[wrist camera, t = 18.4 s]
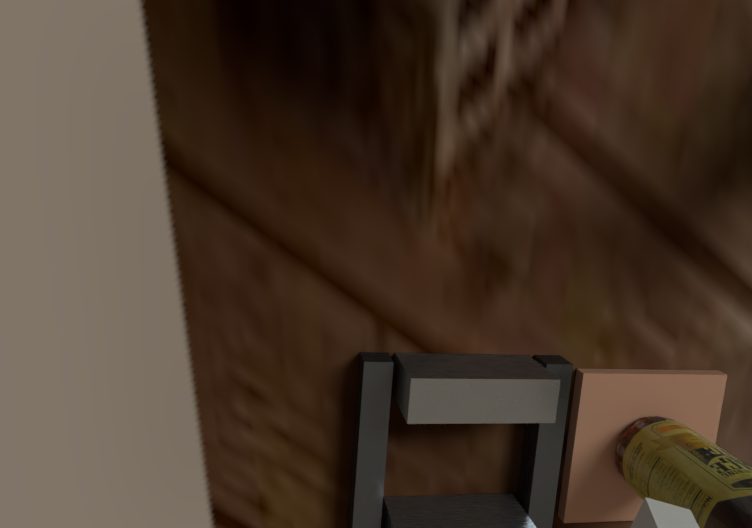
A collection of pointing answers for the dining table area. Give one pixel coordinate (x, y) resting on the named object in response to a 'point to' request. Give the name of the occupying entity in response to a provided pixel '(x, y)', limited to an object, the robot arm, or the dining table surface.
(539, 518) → the dark grey square frame
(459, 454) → the dining table surface
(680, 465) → the sauce bottle
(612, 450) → the terracotta tile
